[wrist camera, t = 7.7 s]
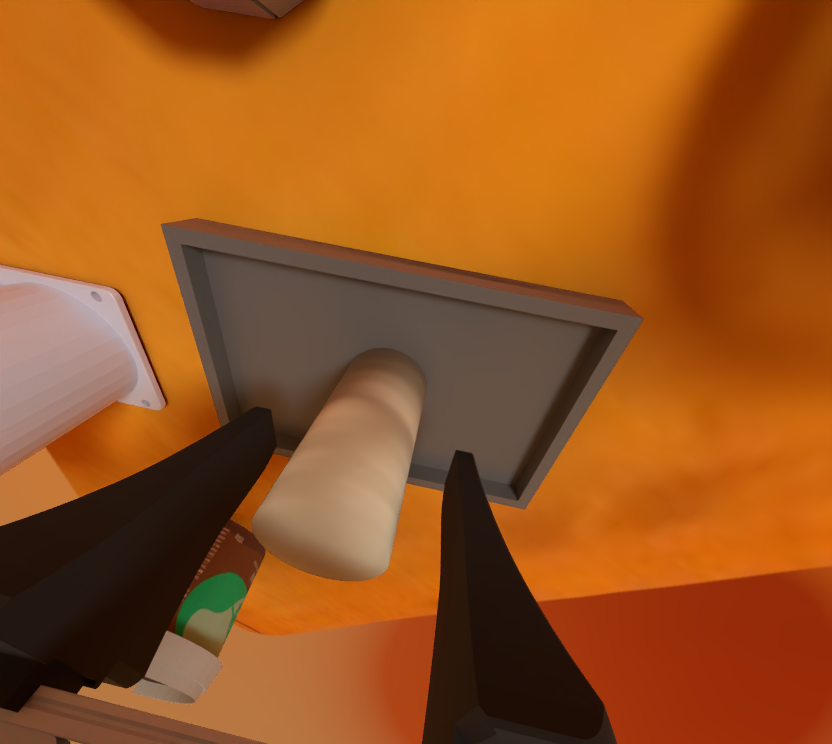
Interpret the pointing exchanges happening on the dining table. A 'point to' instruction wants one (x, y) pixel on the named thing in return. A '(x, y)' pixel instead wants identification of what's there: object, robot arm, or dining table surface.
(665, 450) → the dining table surface
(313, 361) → the tray
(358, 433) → the dowel pin
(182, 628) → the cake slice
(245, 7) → the grey round dish
